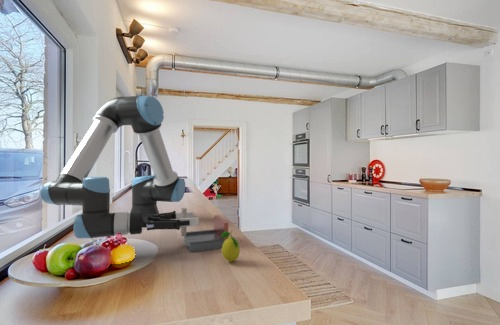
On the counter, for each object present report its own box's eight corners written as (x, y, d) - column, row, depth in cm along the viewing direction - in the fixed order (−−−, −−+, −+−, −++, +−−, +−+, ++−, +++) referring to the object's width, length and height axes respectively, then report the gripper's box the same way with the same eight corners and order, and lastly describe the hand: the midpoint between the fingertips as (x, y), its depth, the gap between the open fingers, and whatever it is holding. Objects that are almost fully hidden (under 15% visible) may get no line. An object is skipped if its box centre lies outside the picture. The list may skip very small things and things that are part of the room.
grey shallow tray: (184, 240, 102) (184, 217, 102) (217, 237, 107) (217, 215, 107) (190, 252, 89) (190, 225, 89) (228, 247, 94) (228, 222, 94)
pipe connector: (194, 240, 89) (194, 210, 89) (165, 239, 90) (165, 210, 90) (200, 232, 99) (200, 206, 99) (174, 231, 100) (174, 205, 100)
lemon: (220, 258, 84) (220, 227, 84) (238, 257, 84) (239, 226, 84) (220, 266, 77) (220, 232, 77) (240, 266, 77) (240, 232, 77)
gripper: (130, 226, 98) (190, 221, 107) (127, 244, 77) (202, 236, 86) (131, 206, 98) (190, 203, 107) (127, 218, 77) (202, 213, 86)
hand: (195, 218), depth 96 cm, fingers closed on pipe connector, 10 cm apart
